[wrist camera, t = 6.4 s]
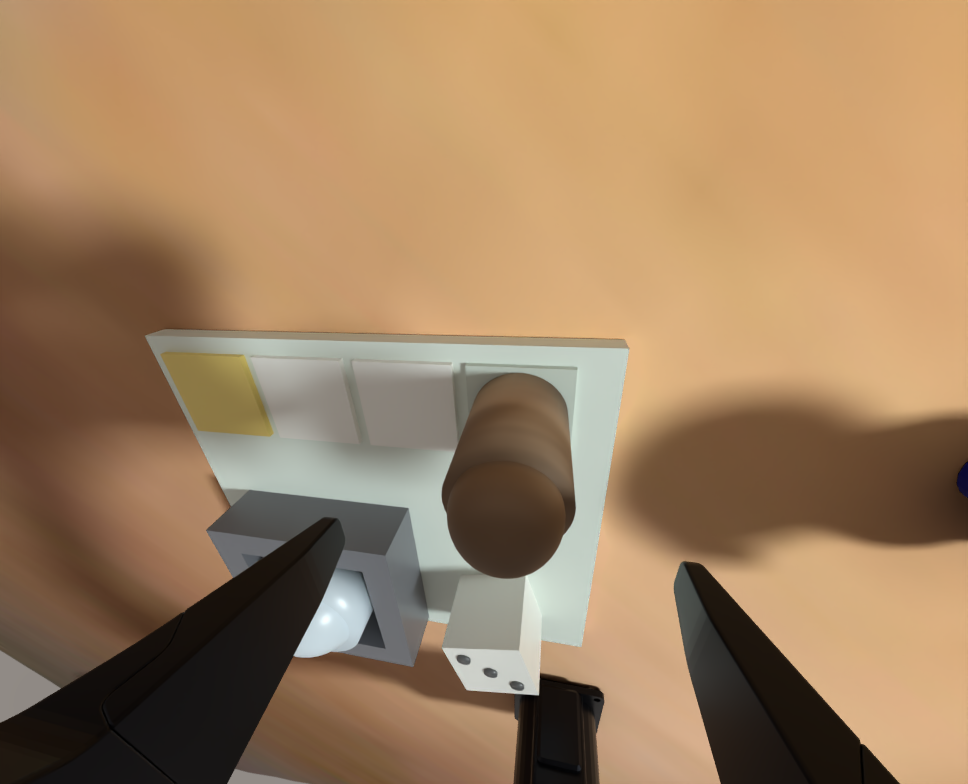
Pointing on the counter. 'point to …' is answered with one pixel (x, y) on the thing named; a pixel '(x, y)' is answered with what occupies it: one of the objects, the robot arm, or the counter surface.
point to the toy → (963, 480)
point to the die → (495, 635)
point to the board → (395, 431)
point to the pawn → (511, 478)
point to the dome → (338, 616)
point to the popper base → (341, 559)
